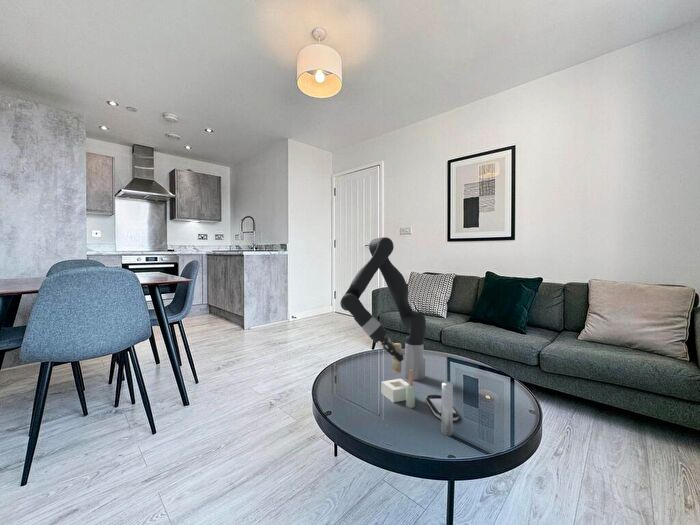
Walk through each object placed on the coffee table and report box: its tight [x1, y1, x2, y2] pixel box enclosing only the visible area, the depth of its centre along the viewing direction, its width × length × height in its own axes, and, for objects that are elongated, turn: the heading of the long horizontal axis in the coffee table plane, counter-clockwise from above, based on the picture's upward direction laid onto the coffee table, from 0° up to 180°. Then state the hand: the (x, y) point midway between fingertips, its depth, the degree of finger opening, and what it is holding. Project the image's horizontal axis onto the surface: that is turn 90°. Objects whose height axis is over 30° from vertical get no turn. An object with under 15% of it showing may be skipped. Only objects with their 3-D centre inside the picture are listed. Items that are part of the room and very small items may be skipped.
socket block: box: [380, 369, 414, 403], centre depth 126 cm, size 10×10×12 cm
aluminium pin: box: [440, 380, 454, 437], centre depth 98 cm, size 4×4×16 cm
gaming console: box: [425, 394, 460, 423], centre depth 114 cm, size 19×9×2 cm, turn 2°
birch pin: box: [392, 342, 402, 374], centre depth 127 cm, size 4×4×12 cm
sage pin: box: [405, 385, 416, 409], centre depth 117 cm, size 4×4×8 cm
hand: (401, 358), depth 126 cm, fingers closed on birch pin, 3 cm apart
